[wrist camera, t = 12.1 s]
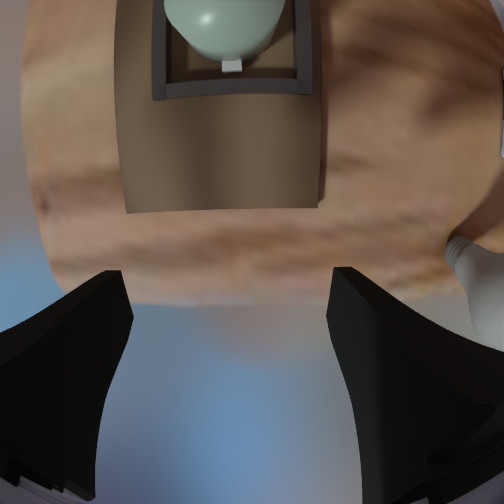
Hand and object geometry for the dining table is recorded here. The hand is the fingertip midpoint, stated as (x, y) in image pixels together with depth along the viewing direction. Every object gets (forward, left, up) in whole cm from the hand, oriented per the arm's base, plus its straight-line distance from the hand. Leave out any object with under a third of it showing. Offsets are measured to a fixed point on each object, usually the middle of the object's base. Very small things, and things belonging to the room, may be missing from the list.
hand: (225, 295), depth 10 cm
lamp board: (+1, -8, -9) cm, 12 cm away
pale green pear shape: (0, -11, -9) cm, 14 cm away
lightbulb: (-17, +3, -10) cm, 20 cm away
